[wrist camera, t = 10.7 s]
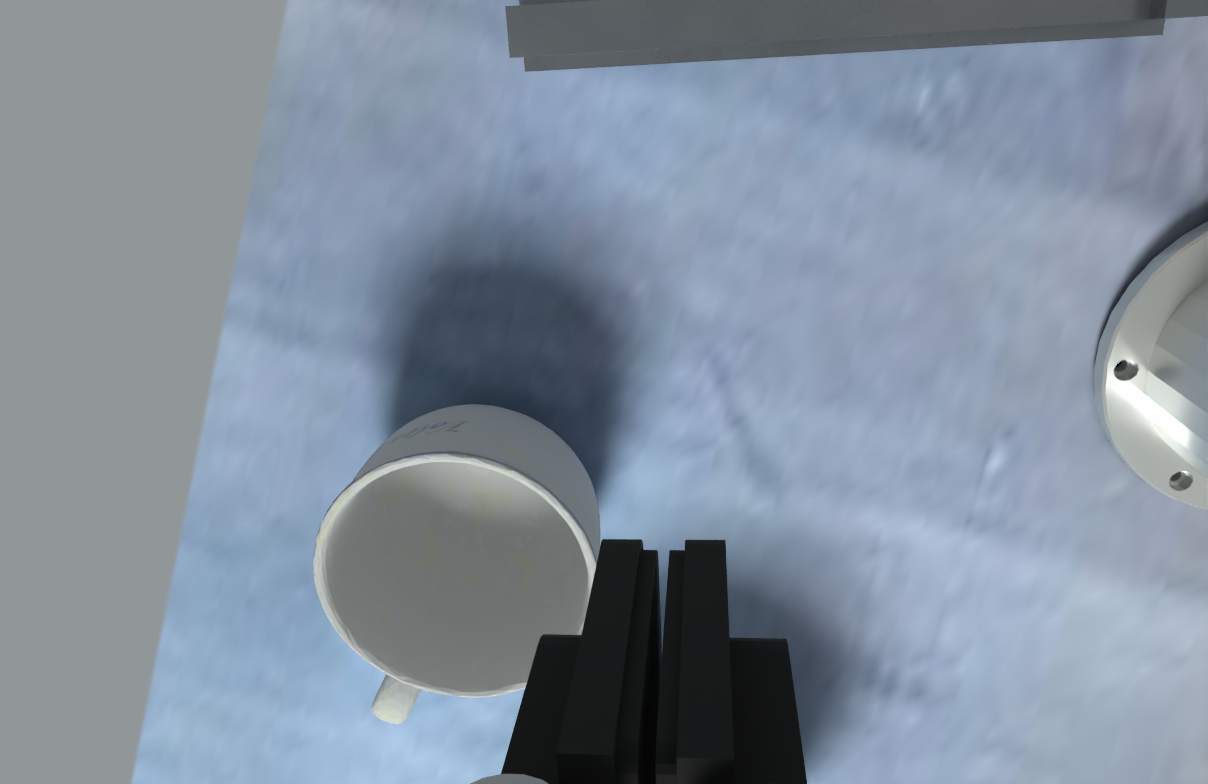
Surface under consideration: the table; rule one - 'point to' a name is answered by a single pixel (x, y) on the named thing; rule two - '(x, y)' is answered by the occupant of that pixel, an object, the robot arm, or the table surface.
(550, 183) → the table surface
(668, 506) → the table surface
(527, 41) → the chute
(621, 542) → the robot arm
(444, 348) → the table surface
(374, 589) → the teacup
